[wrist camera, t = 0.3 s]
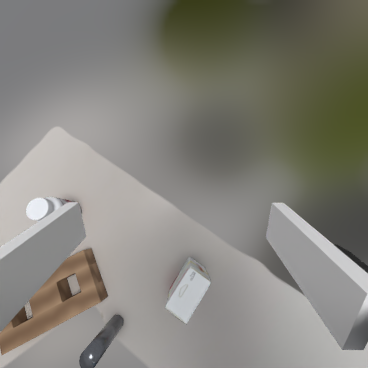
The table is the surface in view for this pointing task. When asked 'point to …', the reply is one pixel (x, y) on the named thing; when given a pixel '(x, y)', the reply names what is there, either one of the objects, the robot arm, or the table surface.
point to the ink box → (187, 290)
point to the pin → (101, 343)
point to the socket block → (56, 301)
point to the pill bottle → (43, 207)
